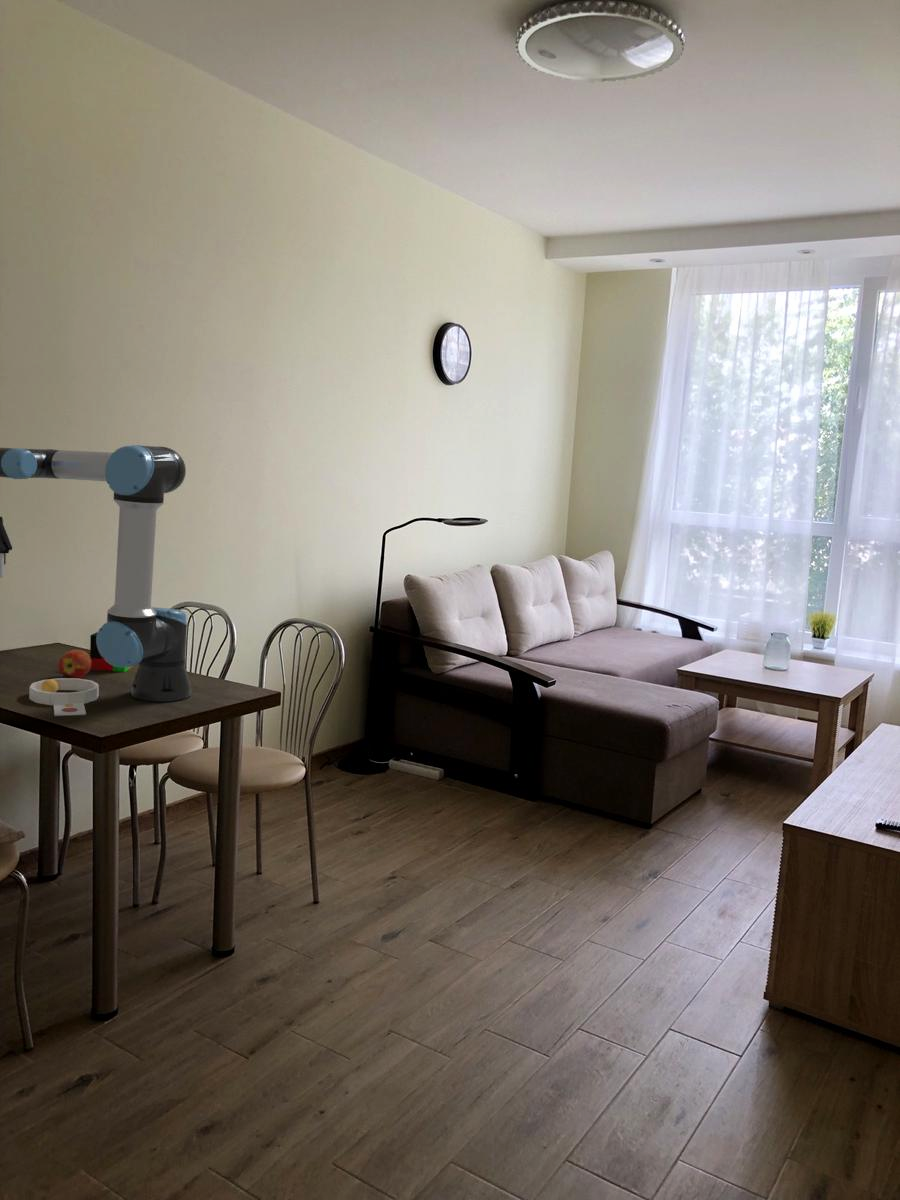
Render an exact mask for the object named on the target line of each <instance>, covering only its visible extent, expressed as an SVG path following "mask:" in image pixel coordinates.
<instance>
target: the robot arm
mask: <svg viewBox="0 0 900 1200" xmlns="http://www.w3.org/2000/svg"><path fill="white" fill-rule="evenodd" d="M186 472H187V469H186V465H185V461H184V460H183V458H182V456H181V455H180V454H179V453H178V452H177V451H175V450H174V449H171V448H169V447H165V446H154V445H153V446H151V445H141V444H140V445H139V444H136V445H135V444H132V445H124V446H121V447H119V448H117V449H116V450H114V452H107V451H90V450H87V451H86V450H69V449H68V450H65V449H51V448H47V449H42V448H41V449H40V448H39V449H37V448H18V447H17V448H15V447H12V448H11V447H0V478H8V479H13V480H27V479H55V480H56V479H63V480H77V481H92V482H96V481H97V482H106V483H107V484H108V485H109V486H108V487H109V488H110V489H111V491H113V501H114V503H116V504H117V506H118V507H119V510H118V511H119V512H118V515H119V516H118V529H117V530H118V531H117V532H118V533H117V548H116V549H117V551H116V552H117V554H116V568H115V569H116V571H115V587H114V588H115V590H114V591H115V592H114V603H113V605H112V606H111V607H109V608H108V609H107V613H106V614H107V615H106V623H104V624H103V625H101V627H100V628H99V629H98V631H97V632H98V633H97V637H96V643H97V648H98V650H99V653H100V654H101V656H103V657H104V659H105V661H106V662H108V663H109V664H111V665H113V666H115V667H121V668H123V667H132V666H134V667H136V666H138V667H137V671H136V672H135V676H134V679H133V681H132V685H131V689H130V690H131V692H130V693H131V697H133V698H134V699H137V700H140V701H141V700H142V701H147V702H175V701H181V699H182V700H185V699H188V698H190V697H191V695H192V685H191V682H190V679H189V675H188V672H187V668H186V655H187V654H186V651H187V650H186V649H187V627H188V624H187V623H188V622H187V614H186V612H185V611H182V610H180V609H173V608H164V607H156V606H155V607H154V606H152V593H153V591H152V590H153V574H154V562H155V561H154V559H155V557H154V556H155V545H156V543H155V541H156V540H155V539H156V522H157V511H158V510H159V508H161V506H163V505H164V498H165V497H164V496H165V494H169V493H171V492H174V491H175V490H177V489H179V487H181V485H182V484H183V482H184V480H185V478H186ZM12 550H13V545H12V543H11V541H10V538H9V535H8V534H7V531H6V528H5V526H4V520H3V517H2V516H0V579H3V578H4V579H5V565H6V563H7V562H6V558H7V557H6V556H7V555H6V554H9V553H10V551H12ZM132 668H133V667H132ZM189 696H190V697H189Z"/></svg>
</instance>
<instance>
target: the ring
mask: <svg viewBox="0 0 900 1200" xmlns="http://www.w3.org/2000/svg"><path fill="white" fill-rule="evenodd" d="M51 679H52V680H54V681H56V682H57V684H58V690H57V691H71V692H56V693H52V692H45V691H42V689H41V686H42V683H43V682H44V681H45V680H48V678H47V679H43V680H38V681H35V682H32V683H31V684H30V685H29V691H28V692H29V694H28V695H29V696H28V697H29V698H28V699H29V700H30V701H33V702H34V703H36V704H40V705H41V704H42V705H47V706H54V704H72V703H83V702H84V705H85V704H88V703H90V702H94V701H97V700H98V697H99V690H100V687H99V686H100V685H99V683H97V682H95V681H94V680H90V679H83V678H79V679H78V678H68V677H66V678H65V677H64V678H63V677H60V678H58V677H57V678H51ZM73 691H74V692H73Z"/></svg>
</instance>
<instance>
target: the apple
mask: <svg viewBox="0 0 900 1200" xmlns="http://www.w3.org/2000/svg"><path fill="white" fill-rule="evenodd" d="M90 668H91V659H90V654H88V653H87V652H86V651H84V650H82V649H72V650H68V651H67V652H65V653H64V654H63V655H62V656H61V657H60V660H59V662H58V670H59V672H60V674H62V675H63V676H64V677H66V678H78V679H83V677H86V675H87V674H88V673H89V672H90V670H91V669H90Z"/></svg>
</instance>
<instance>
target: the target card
mask: <svg viewBox="0 0 900 1200" xmlns="http://www.w3.org/2000/svg"><path fill="white" fill-rule="evenodd" d="M53 715H54V717H58V716H86V715H87V712H86V708H85V704H84V702H83V703H72V704H54V705H53Z"/></svg>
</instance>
